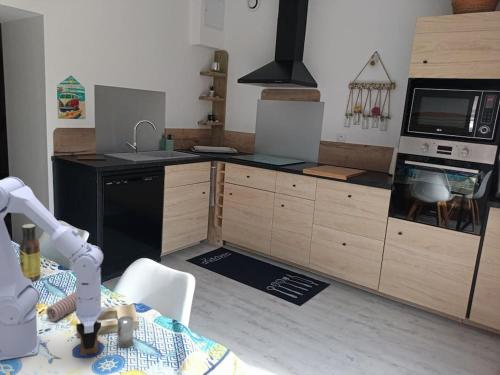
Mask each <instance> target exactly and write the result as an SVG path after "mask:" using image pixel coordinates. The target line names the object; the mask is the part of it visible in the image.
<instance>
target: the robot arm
mask: <svg viewBox="0 0 500 375" xmlns="http://www.w3.org/2000/svg"><path fill="white" fill-rule="evenodd" d="M8 213H10V214H23V215H25V216H26V217H27V218H28V219H29V220H31V221H32V222H33V223H35V225H37V226H38V227H39V228H40V229H42V230H43V231H44V232H45V233H47V235H49V236H50V244H51V245H52V246H53V247H54V248H55V249H57V251H59V253H61V254H62V255H63V256H64V257H65V258H66V259H67V260H68V261H69V262H70V263H72V264H71V269H72V271H73V272H74V273H75V275H76V277H75V278H76V281H75V282H76V283H75V285H76V286H75V288H76V289H75V290H76V291H75V292H76V302H77V308H76V309H75V317H76V318H77V320H78V319H79V320H80V322H81V323H80V324H77V323H76V332H77V331H78V333H79V334H80V335H81V338H82V341H83V345H84V348H85V349H90V348H94V345H95V340H96V336H97V333H98V331H99V329H100V327H101V322H102V321H100V322H99V321H98V323H95V322H96V320H97V319H98V317H99V316H100V314H101V313H105V312H106V308H107V307H105V306H102V293H101V292H102V278H101V277H102V276H101V264H102V263H103V260H104V253H103V251H102V250H101V248H100V247H99V246H96V245H93V244H92V243H88V242H87V241H86V240H85V239H84V238H83V237H82V236H81V235H80V234H79V232H80V231H79V230H78V229H77V228H76V227H75V228H73V227H71V226H68V225H62V223H60V222H59V221H58V220H57V219H56V217H55V216H54V215H52V213H51V212H50V211H49V210H48V209H47V208H46V207H45V205H43V203H42V202H41V201H40V200H39V199H38V198H37V197H36V196H35V194H34V192H33V190H32V188H31V187H30V186H28V185H25V183H24V181H23V180H22V179H20V178H19V177H15V176H8V177H5V178H2V179H0V361H4V360H10V359H11V360H12V359H17V358H23V357H31V356H35V355H38V354H39V353H38V352H39V348H40V343H41V335H38V324H37V323H38V322H37V308H36V306H37V305H38V303H39V302H40V301H41V293H40V291H39V289H38V288H37V287H36V286H35V285H34V284H33V281H31V279H29V278H26V277H24V275H23V273H22V270H21V267H20V260H19V259H18V257H17V254H16V250H15V248H14V246H13V243H12V240H11V239H12V238H11V236H10V234H9V232H8V228H7V225H6V222H5V220H4V218H5V217H6V216H7V214H8Z"/></svg>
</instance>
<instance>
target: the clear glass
mask: <svg viewBox="0 0 500 375" xmlns="http://www.w3.org/2000/svg"><path fill="white" fill-rule="evenodd" d="M116 337H117V340H116V342H117V347H119V348H121V349H126V348H130V347H131V346H133V344H134V330H133V318H132V317H130V316H123V317H120V318H119V319H118V332H117V336H116Z"/></svg>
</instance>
